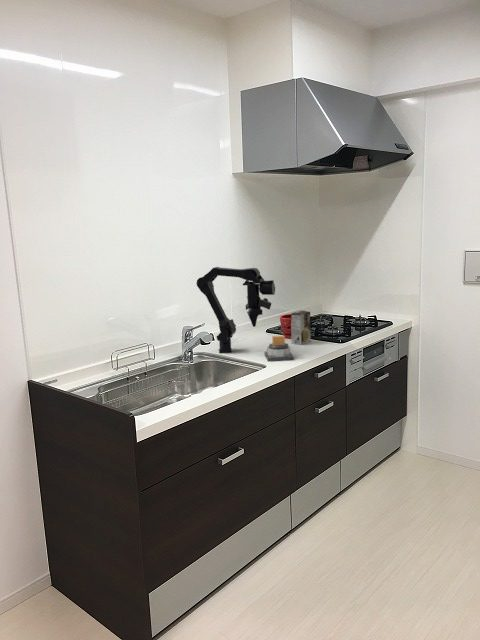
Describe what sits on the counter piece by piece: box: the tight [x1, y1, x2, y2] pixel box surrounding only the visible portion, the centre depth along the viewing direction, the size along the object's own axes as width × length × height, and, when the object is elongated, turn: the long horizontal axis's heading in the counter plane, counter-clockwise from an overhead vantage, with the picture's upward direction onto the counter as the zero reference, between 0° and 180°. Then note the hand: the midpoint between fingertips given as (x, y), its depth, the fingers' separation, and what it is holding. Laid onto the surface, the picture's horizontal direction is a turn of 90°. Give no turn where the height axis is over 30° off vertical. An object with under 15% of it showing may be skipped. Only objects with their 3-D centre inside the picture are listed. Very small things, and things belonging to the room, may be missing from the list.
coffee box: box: [290, 310, 312, 346], centre depth 280 cm, size 9×6×16 cm
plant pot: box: [279, 313, 292, 340], centre depth 294 cm, size 13×13×12 cm
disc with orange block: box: [268, 335, 289, 349], centre depth 252 cm, size 9×9×7 cm
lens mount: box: [263, 344, 295, 362], centre depth 253 cm, size 12×12×5 cm
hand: (254, 326), depth 261 cm, fingers closed
